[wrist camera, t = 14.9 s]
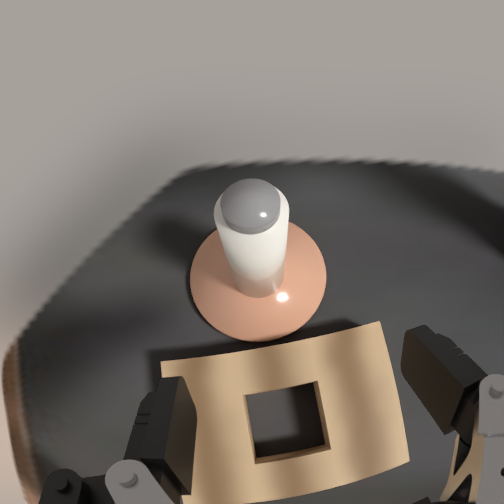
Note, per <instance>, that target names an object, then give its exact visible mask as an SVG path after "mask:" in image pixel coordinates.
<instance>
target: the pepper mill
mask: <svg viewBox="0 0 504 504" xmlns="http://www.w3.org/2000/svg"><path fill="white" fill-rule="evenodd" d="M214 219H215V223H216V226H217V229H218V232H219V236H220V239H221V242H222V245H223V249H224V252H225V255H226V258H227V262H228V265H229V268H230V271H231V274H232V278H233V281H234V283H235V285H236V287H237V288H238V290H239V291H240V292H242V293H243V294H244V295H246V296H249V297H252V298H263V297H267V296H270V295H271V294H273V293H275V292H276V291H277V290H278V289H279V288H280V286H281V284H282V282H283V279H284V270H285V258H286V246H287V233H288V219H289V206H288V202H287V200H286V198H285V196H284V195H283V194H282V193H281V192H280V191H279V190H278V189H277V188H275V187H274V186H273V185H271V184H270V183H268V182H266V181H264V180H260V179H244V180H240V181H237V182H235V183H233V184H232V185H230V186H229V187H228V188H227V189H226V190H225V191H224V193H223V194H222V195H221V196H220V197H219V199H218V200H217V202H216V205H215V208H214Z"/></svg>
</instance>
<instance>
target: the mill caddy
mask: <svg viewBox="0 0 504 504" xmlns="http://www.w3.org/2000/svg"><path fill="white" fill-rule="evenodd" d="M161 371H162V378H163V377H175V376H182V377H183V378H184V380H185V382H186V385H187V387H188V390H189V392H190V395H191V397H192V400H193V402H194V404H195V407H196V412H197V430H196V441H195V453H194V465H193V478H192V492H191V495H182V499H183V503H184V504H244V503H254V502H262V501H270V500H277V499H283V498H289V497H294V496H299V495H304V494H309V493H313V492H318V491H322V490H326V489H330V488H334V487H337V486H341V485H345V484H348V483H351V482H355V481H358V480H361V479H364V478H367V477H370V476H373V475H376V474H378V473H381V472H384V471H387V470H389V469H392V468H394V467H397V466H399V465H402V464H404V463H406V462H409V454H408V447H407V441H406V435H405V429H404V423H403V418H402V412H401V407H400V402H399V397H398V393H397V388H396V384H395V379H394V375H393V371H392V366H391V362H390V358H389V354H388V350H387V346H386V343H385V339H384V335H383V332H382V328H381V324H380V321H378V322H374V323H371V324H367V325H363V326H359V327H355V328H351V329H347V330H343V331H339V332H335V333H331V334H327V335H322V336H318V337H313V338H309V339H304V340H300V341H295V342H290V343H285V344H280V345H274V346H269V347H263V348H258V349H252V350H246V351H240V352H233V353H227V354H220V355H213V356H205V357H197V358H189V359H180V360H171V361H161ZM312 382H313V385H314V390H315V395H316V400H317V405H318V410H319V415H320V420H321V425H322V430H323V436H324V441H325V445H321V446H317V447H312V448H308V449H303V450H299V451H294V452H289V453H283V454H277V455H272V456H265V457H258V458H257V457H256V452H255V447H254V441H253V436H252V430H251V425H250V419H249V414H248V408H247V402H246V396H245V395H249V394H256V393H262V392H268V391H273V390H279V389H284V388H289V387H294V386H299V385H303V384H308V383H312Z"/></svg>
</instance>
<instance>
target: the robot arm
mask: <svg viewBox="0 0 504 504" xmlns="http://www.w3.org/2000/svg"><path fill="white" fill-rule="evenodd" d="M401 371H402V374H403V376H404V378H405V380H406V381H407V382H408V384H409V385H410V386H411V388H412V389H413V391H414V392H415V393H416V395H417V396H418V398H419V399H420V400H421V402H422V403H423V405H424V406H425V407H426V409H427V410H428V412H429V413H430V415H431V416H432V417H433V419H434V420H435V422H436V423H437V425H438V426H439V428H440V429H441V430H442V432H443V433H444V435H446V434H448V433H450V432H452V431H454V430H456V431H457V433H458V435H457V437H456V441H455V447H454V453H453V459H452V464H451V469H450V474H449V479H448V482H447V485H446V487H445V489H444V491H443V493H442V495H441V498H440V501H439V502H433V503H431V502H430V500H429V498H428V497H426V498H424V499H422V500H420V501H418V502H415V503H413V504H504V376H503V375H498V374H493V375H489V376H488V375H487V374H486V373H485V372H484V371H483V370H482V369H481V368H480V367H479V366H478V365H477V364H476V363H475V362H474V361H473V360H472V359H471V358H470V357H469V356H468V355H467V354H464V352H463V351H462V350H461V349H460V348H458V346H457V345H456V344H455V343H454V342H453V341H452V340H451V339H449V338H447V337H445V336H443V335H441V334H435V333H434V332H433V331H432V330H431V329H430V328H429V327H428V326H426V325H422V326H419V327H416V328H413V329H410V330H407V331H406V332H405V335H404V343H403V351H402V358H401ZM134 423H135V425H133V429H132V432H131V435H130V439H129V442H128V445H127V449H126V452H125V456H124V459H123V460H122V461H119V462H117V463H115V464H114V465H113V466H111V467H110V468H109V470H108V471H107V473H106V474H105V475H101V476H94V477H87V478H81V477H80V476H79V475H78V474H77V473H76V472H74V471H72V470H70V469H60V470H57V471H55V472H53V473H52V474H51V475H50V476H49V477H48V479H47V480H46V483H45V486H44V489H43V492H42V495H41V498H40V501H39V504H180V495H191V492H192V478H193V465H194V453H195V441H196V430H197V412H196V407H195V404H194V402H193V400H192V397H191V395H190V392H189V390H188V387H187V385H186V382H185V380H184V378H183V377H182V376H175V377H163V378H161V379H160V381H159V384H158V388H157V391H156V392H149V393H148V394H147V395H146V397H145V398H144V399H143V400H142V401H141V403H140V406H139V409H138V412H137V416H136V419H135V422H134Z"/></svg>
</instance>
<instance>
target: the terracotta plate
mask: <svg viewBox="0 0 504 504" xmlns="http://www.w3.org/2000/svg"><path fill="white" fill-rule="evenodd" d="M190 286H191V293H192V296H193V299H194V302H195V304H196V306H197V308H198V309H199V311H200V312H201V314H202V315H203V317H204V318H205V319H206V320H207V321H208V322H209V323H210V324H211V325H212V326H213V327H214V328H215V329H217V330H218V331H220V332H221V333H223V334H225V335H227V336H229V337H231V338H234V339H237V340H241V341H246V342H269V341H274V340H277V339H281V338H283V337H286V336H288V335H290V334H292V333H294V332H295V331H297V330H298V329H300V328H301V327H302V326H303V325H305V324H306V323H307V321H308V320H309V319H310V318H311V317H312V316H313V314H314V313H315V312H316V310H317V308H318V306H319V304H320V302H321V300H322V297H323V294H324V291H325V286H326V268H325V263H324V260H323V257H322V254H321V252H320V250H319V248H318V246H317V245H316V244H315V242H314V241H313V239H312V238H311V237H310V236H309V235H308V234H307V233H306V232H304V231H303V230H302V229H301V228H299V227H297V226H296V225H294V224H292V223H290V222H288V233H287V246H286V258H285V270H284V279H283V282H282V284H281V286H280V288H279V289H278V290H277V291H276V292H275V293H273V294H271V295H270V296H267V297H263V298H252V297H249V296H246V295H244V294H243V293H242V292H240V291H239V290H238V288H237V287H236V285H235V283H234V281H233V278H232V274H231V271H230V268H229V265H228V262H227V258H226V255H225V252H224V249H223V245H222V242H221V239H220V236H219V232H218V229H217V230H215V231H214V232H213V233H212V234H210V235H209V236H208V237H207V239H206V240H205V241H204V242H203V243H202V245H201V246H200V248H199V249H198V251H197V253H196V255H195V257H194V260H193V263H192V267H191V273H190Z"/></svg>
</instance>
